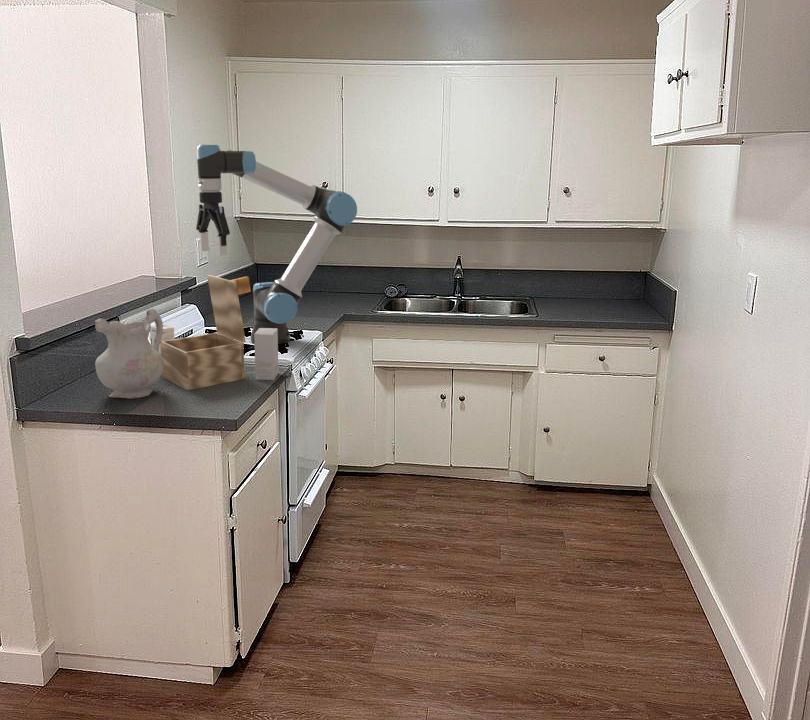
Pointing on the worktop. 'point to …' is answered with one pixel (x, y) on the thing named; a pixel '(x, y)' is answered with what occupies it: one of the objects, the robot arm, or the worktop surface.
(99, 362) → the ceramic pitcher
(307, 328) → the worktop surface
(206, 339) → the carton
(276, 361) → the skincare box
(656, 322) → the worktop surface
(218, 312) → the lid
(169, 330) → the syrup box
